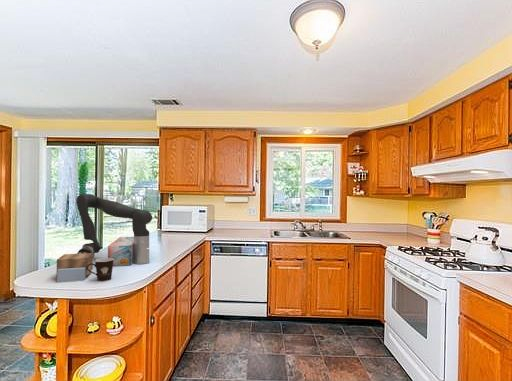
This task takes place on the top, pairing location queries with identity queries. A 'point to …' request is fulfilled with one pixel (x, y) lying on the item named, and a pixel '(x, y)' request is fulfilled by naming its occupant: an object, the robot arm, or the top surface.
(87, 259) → the wood grain cube
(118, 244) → the soda box
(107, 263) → the coffee mug
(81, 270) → the block
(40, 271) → the top surface
